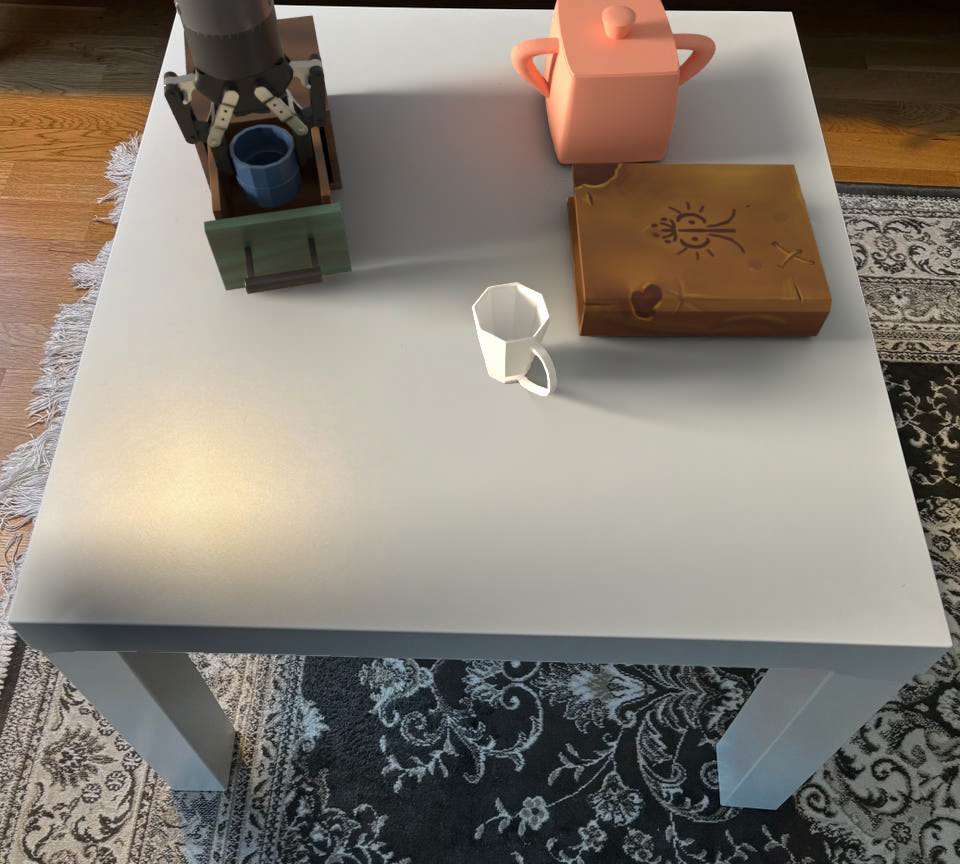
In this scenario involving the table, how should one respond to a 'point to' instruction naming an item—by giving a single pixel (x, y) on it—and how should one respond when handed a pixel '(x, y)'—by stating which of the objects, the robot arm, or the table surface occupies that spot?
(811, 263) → the diary
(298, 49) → the cabinet
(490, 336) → the cup
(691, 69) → the pink lidded sugar bowl
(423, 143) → the table surface
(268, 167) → the blue faceted tumbler
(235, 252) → the drawer
